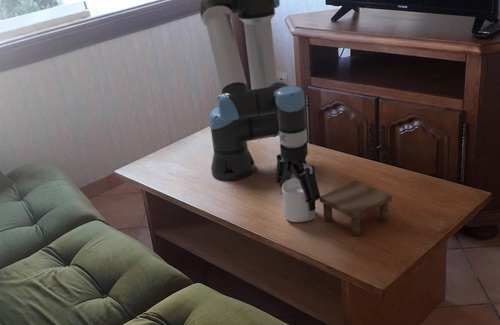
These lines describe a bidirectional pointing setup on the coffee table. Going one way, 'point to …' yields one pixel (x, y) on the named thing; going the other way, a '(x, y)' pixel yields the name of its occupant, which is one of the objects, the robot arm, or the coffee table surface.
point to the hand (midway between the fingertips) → (298, 212)
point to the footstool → (355, 203)
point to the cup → (294, 200)
